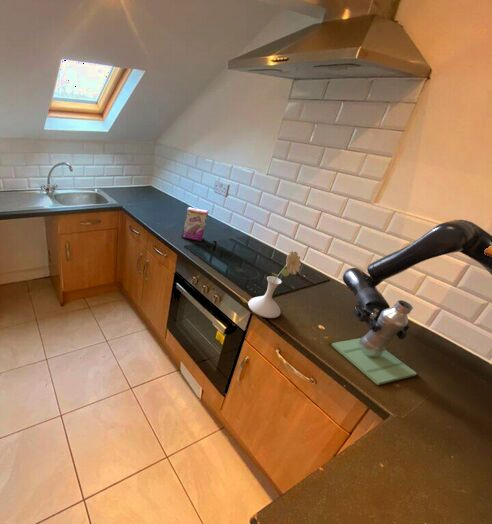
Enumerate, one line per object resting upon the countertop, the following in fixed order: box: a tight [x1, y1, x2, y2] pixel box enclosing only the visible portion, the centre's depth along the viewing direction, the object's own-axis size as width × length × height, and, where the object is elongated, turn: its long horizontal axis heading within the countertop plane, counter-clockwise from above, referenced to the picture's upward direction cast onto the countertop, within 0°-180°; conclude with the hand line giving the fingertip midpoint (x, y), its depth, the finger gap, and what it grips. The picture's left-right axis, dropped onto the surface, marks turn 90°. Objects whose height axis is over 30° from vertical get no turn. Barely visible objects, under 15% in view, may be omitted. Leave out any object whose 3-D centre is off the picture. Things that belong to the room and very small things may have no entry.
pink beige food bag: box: [181, 206, 210, 242], centre depth 162 cm, size 11×5×16 cm, turn 74°
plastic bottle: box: [359, 299, 414, 357], centre depth 89 cm, size 6×7×20 cm
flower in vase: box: [247, 250, 302, 319], centre depth 105 cm, size 13×11×25 cm
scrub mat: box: [331, 337, 418, 386], centre depth 93 cm, size 16×16×1 cm
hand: (389, 333), depth 87 cm, fingers closed on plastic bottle, 6 cm apart
